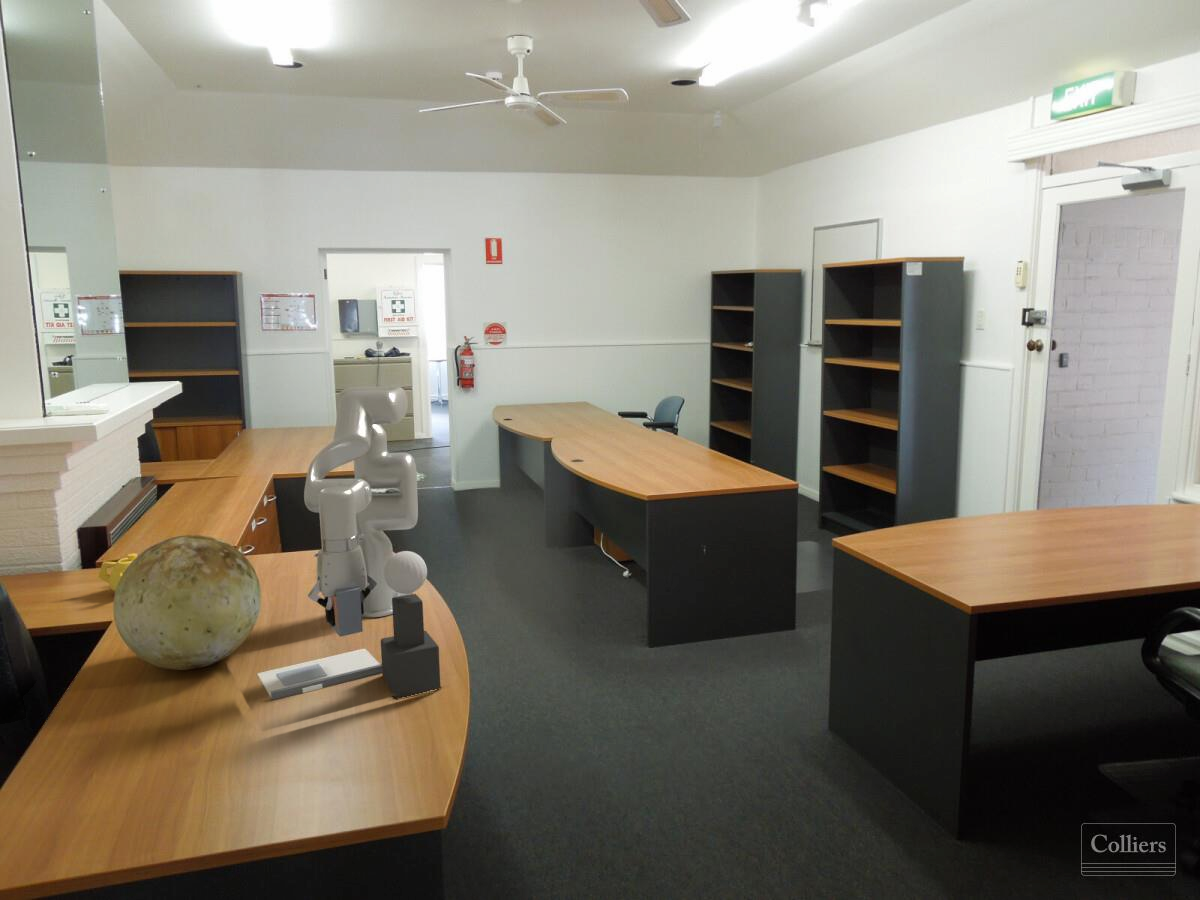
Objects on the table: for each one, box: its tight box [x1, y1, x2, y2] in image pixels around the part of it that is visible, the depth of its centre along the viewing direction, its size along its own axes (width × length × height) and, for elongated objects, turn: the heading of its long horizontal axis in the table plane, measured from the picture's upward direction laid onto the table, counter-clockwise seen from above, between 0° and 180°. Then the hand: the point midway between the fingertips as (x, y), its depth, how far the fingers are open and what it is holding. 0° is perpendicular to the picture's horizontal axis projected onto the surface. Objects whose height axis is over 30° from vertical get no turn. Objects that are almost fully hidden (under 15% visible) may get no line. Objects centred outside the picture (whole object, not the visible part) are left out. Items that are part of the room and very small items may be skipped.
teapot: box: [98, 552, 141, 593], centre depth 241 cm, size 20×18×11 cm
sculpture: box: [380, 550, 441, 700], centre depth 178 cm, size 10×10×30 cm
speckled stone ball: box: [113, 534, 262, 671], centre depth 190 cm, size 30×30×30 cm
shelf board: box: [256, 647, 382, 701], centre depth 184 cm, size 24×15×3 cm, turn 123°
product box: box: [330, 587, 364, 638], centre depth 186 cm, size 5×7×10 cm
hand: (345, 620), depth 187 cm, fingers closed on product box, 5 cm apart
